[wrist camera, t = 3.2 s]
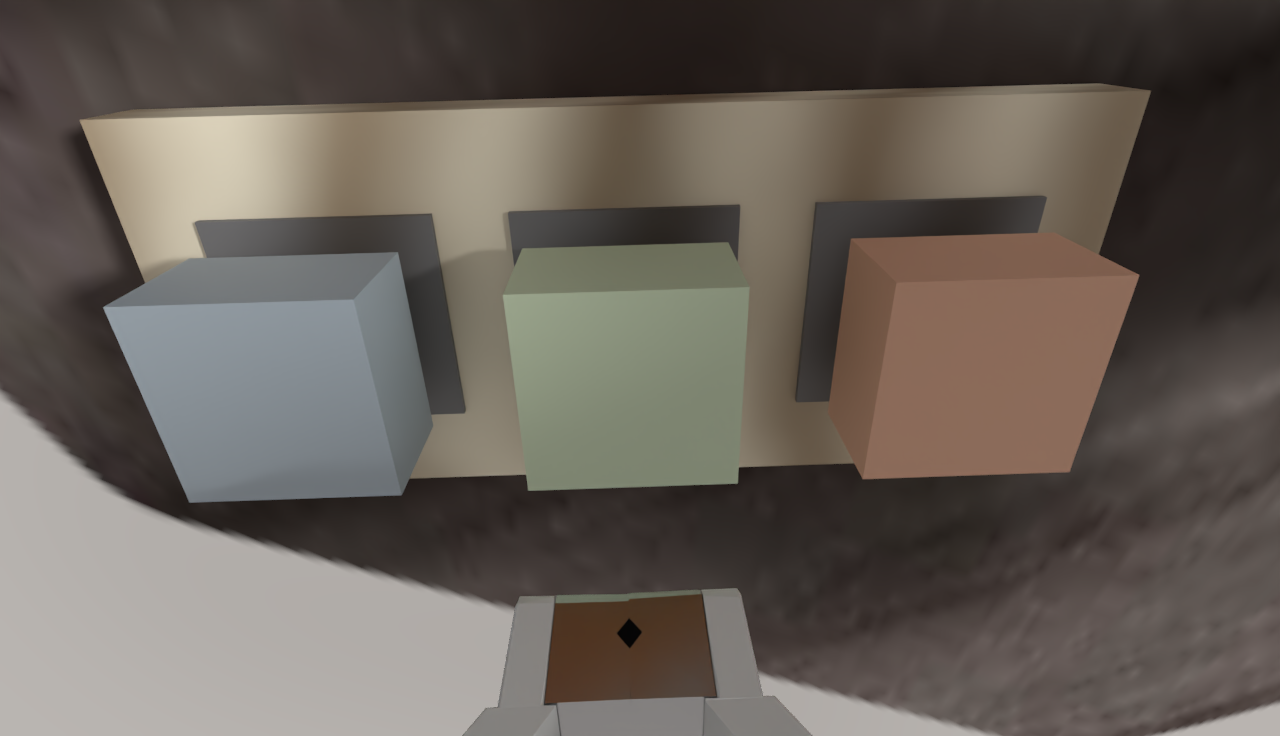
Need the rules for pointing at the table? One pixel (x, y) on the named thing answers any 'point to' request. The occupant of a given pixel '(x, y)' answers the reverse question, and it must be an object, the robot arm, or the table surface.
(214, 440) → the slate button
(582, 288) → the sage button
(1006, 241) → the terracotta button
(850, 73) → the table surface
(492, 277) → the button board
